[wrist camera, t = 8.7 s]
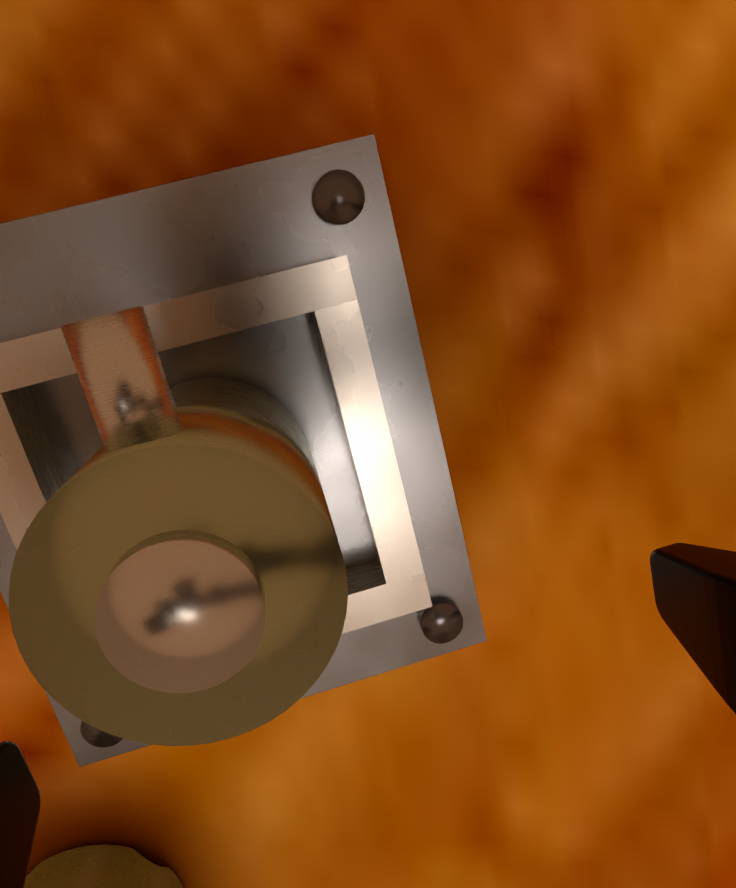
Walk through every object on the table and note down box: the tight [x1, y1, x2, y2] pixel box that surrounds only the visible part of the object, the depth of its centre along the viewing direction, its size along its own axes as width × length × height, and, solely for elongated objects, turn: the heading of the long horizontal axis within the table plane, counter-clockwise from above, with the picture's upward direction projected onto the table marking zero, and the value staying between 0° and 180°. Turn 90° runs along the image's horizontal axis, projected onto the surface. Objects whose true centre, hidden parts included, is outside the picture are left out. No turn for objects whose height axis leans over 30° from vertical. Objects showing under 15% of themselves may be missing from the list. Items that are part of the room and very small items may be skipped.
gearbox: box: [0, 134, 487, 767], centre depth 17 cm, size 14×15×4 cm
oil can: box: [9, 306, 348, 746], centre depth 13 cm, size 7×5×8 cm
